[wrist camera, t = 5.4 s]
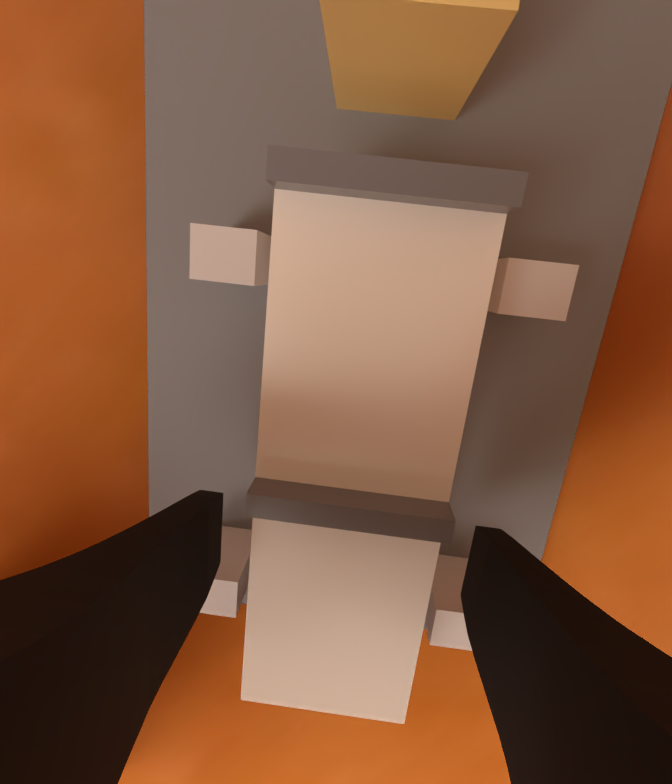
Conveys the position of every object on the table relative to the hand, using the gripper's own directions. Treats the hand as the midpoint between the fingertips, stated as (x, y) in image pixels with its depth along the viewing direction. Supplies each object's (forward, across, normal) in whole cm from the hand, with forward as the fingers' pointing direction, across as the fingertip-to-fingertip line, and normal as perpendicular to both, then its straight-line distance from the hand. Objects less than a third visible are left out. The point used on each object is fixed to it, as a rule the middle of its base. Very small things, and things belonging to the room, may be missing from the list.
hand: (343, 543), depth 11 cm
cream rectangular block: (+3, 0, -2) cm, 4 cm away
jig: (+4, 0, -5) cm, 7 cm away
